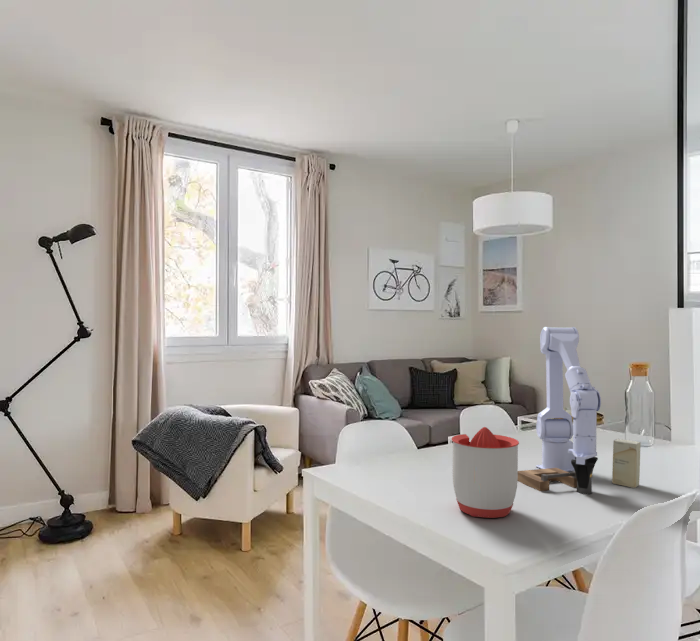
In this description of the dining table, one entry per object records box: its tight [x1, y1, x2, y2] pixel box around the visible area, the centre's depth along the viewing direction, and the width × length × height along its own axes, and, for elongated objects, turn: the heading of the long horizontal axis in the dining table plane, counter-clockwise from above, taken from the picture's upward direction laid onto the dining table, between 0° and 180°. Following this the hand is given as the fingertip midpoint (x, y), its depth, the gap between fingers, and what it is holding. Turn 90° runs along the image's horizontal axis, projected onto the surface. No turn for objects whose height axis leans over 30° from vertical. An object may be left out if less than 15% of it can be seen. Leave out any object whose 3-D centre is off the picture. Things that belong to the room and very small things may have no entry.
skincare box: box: [611, 438, 642, 489], centre depth 154 cm, size 6×4×12 cm
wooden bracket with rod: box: [517, 468, 577, 492], centre depth 154 cm, size 14×11×4 cm
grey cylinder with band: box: [576, 471, 593, 495], centre depth 147 cm, size 4×4×6 cm
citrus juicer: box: [451, 426, 520, 519], centre depth 132 cm, size 16×17×20 cm
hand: (584, 485), depth 147 cm, fingers closed on grey cylinder with band, 4 cm apart
